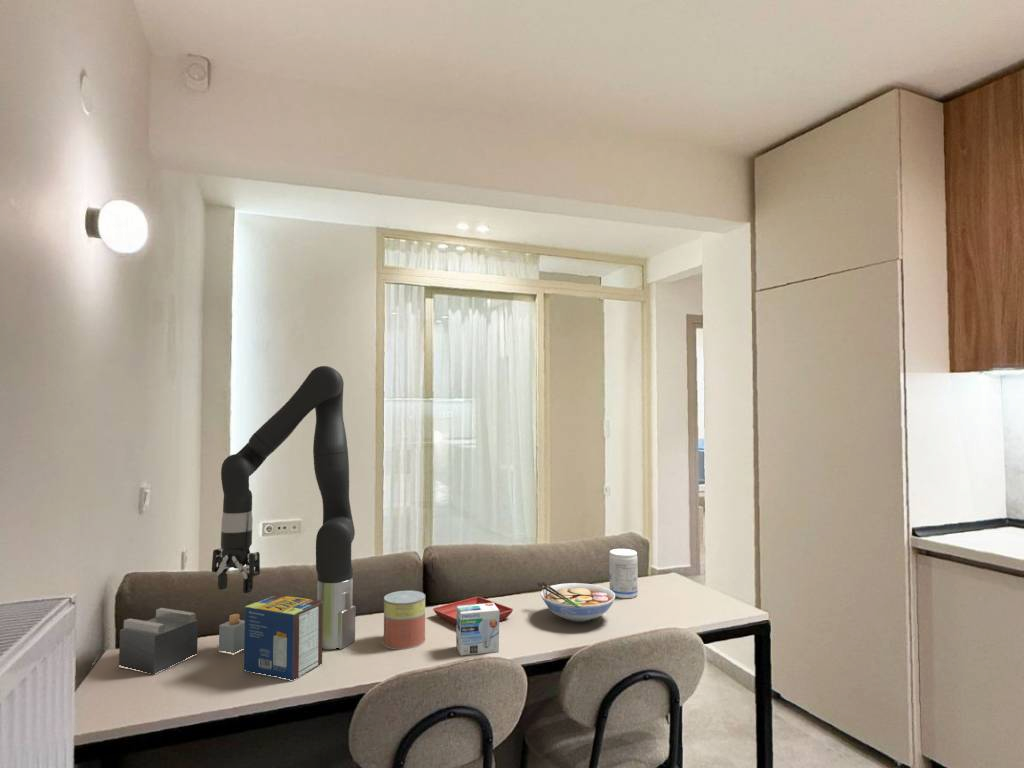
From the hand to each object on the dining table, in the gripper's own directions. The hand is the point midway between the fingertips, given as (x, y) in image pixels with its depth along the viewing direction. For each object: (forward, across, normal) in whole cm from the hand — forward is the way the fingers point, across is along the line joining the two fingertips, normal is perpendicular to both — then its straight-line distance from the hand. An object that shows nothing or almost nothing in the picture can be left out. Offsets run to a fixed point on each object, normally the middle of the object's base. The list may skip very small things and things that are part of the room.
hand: (234, 590), depth 153 cm
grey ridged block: (+15, +12, +12) cm, 23 cm away
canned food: (+15, -39, -21) cm, 47 cm away
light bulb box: (+15, -60, -23) cm, 66 cm away
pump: (+15, 0, 0) cm, 15 cm away
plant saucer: (+15, -49, -44) cm, 68 cm away
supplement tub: (+14, -88, -83) cm, 122 cm away
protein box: (+15, -20, +4) cm, 26 cm away
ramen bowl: (+15, -79, -55) cm, 98 cm away
